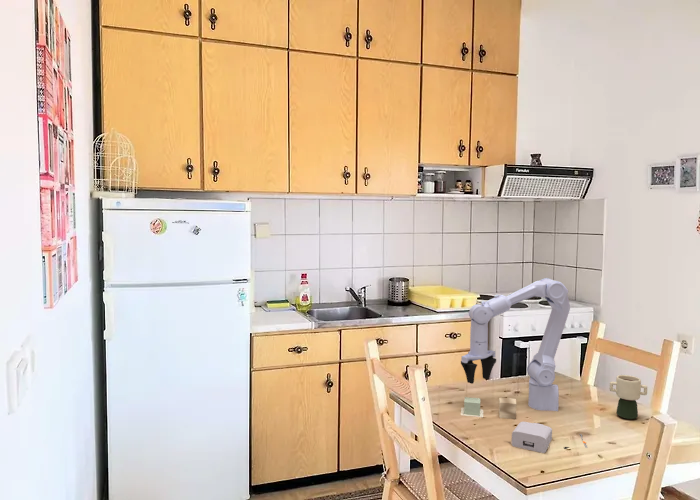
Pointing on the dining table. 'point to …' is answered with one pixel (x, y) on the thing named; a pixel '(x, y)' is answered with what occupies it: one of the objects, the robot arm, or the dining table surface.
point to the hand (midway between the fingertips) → (478, 380)
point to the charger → (532, 436)
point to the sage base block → (472, 406)
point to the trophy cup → (628, 395)
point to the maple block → (507, 408)
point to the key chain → (583, 442)
